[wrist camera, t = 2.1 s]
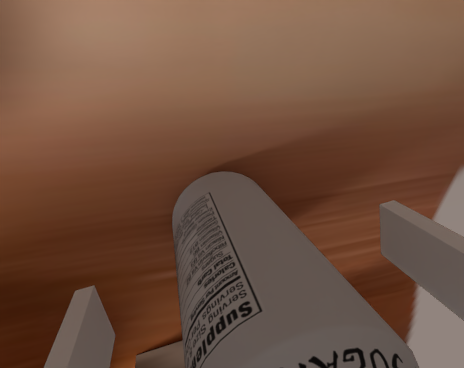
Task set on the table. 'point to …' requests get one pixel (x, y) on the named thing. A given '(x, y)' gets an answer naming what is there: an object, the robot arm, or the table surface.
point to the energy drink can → (266, 288)
